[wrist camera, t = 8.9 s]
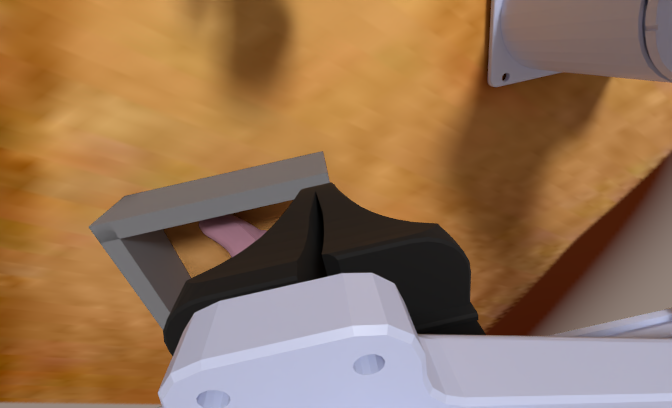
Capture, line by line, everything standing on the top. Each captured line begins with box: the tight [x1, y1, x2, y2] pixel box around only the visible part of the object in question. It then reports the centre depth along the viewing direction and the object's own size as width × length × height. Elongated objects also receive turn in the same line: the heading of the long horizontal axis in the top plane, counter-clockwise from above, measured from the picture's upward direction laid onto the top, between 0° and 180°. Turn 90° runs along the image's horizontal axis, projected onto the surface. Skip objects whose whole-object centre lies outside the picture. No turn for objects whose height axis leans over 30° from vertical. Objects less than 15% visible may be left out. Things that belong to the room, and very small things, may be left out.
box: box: [89, 151, 330, 330], centre depth 24 cm, size 14×20×4 cm
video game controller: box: [199, 214, 267, 257], centre depth 22 cm, size 10×5×7 cm, turn 174°
